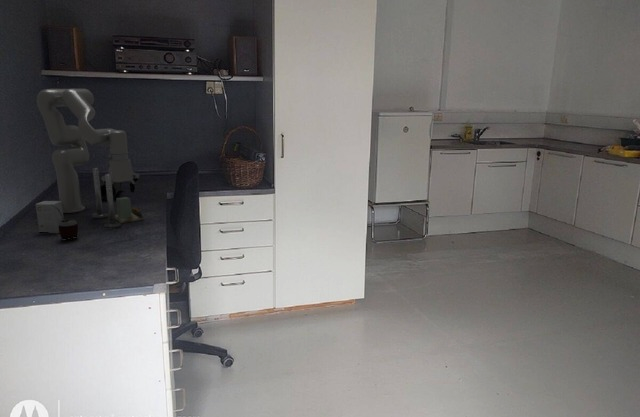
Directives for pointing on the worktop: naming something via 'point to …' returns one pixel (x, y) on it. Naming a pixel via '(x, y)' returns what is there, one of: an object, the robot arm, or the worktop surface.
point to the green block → (124, 207)
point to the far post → (98, 197)
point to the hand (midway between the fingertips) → (121, 193)
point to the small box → (49, 216)
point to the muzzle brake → (115, 187)
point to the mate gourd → (67, 227)
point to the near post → (110, 204)
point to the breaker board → (135, 216)
